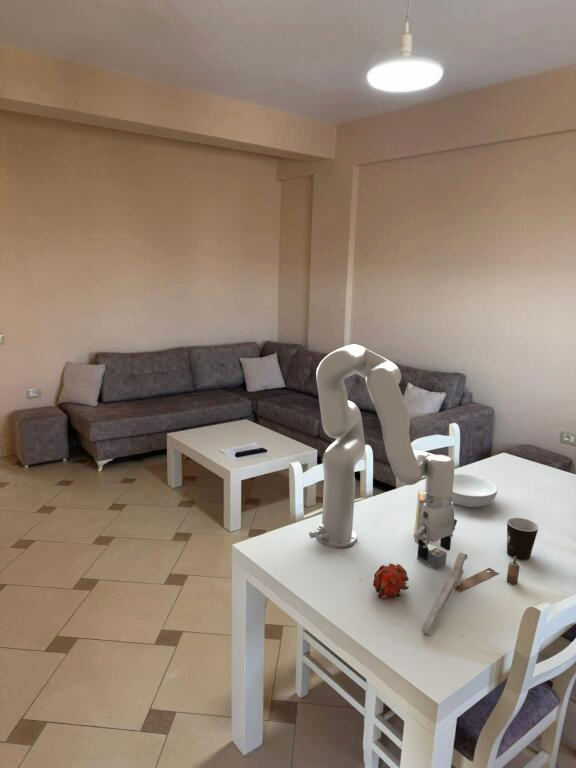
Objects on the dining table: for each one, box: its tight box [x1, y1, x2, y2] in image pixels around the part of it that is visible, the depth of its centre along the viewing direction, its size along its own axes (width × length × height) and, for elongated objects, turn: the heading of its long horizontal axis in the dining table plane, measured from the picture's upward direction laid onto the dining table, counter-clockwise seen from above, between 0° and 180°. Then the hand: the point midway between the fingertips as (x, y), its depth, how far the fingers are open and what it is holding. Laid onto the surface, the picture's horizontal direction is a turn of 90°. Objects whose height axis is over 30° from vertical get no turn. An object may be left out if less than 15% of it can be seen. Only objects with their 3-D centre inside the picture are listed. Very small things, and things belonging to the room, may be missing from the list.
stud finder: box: [416, 543, 447, 570], centre depth 156 cm, size 4×7×4 cm, turn 41°
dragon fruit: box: [372, 562, 409, 600], centre depth 140 cm, size 8×8×12 cm
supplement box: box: [414, 489, 427, 540], centre depth 172 cm, size 8×5×13 cm, turn 168°
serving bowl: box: [452, 473, 499, 508], centre depth 197 cm, size 21×21×7 cm
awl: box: [506, 556, 521, 586], centre depth 147 cm, size 3×3×8 cm
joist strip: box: [454, 567, 498, 593], centre depth 149 cm, size 17×3×1 cm, turn 125°
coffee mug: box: [506, 517, 539, 561], centre depth 162 cm, size 12×9×10 cm
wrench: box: [421, 551, 468, 636], centre depth 137 cm, size 8×2×30 cm
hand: (434, 553), depth 156 cm, fingers open, 9 cm apart
